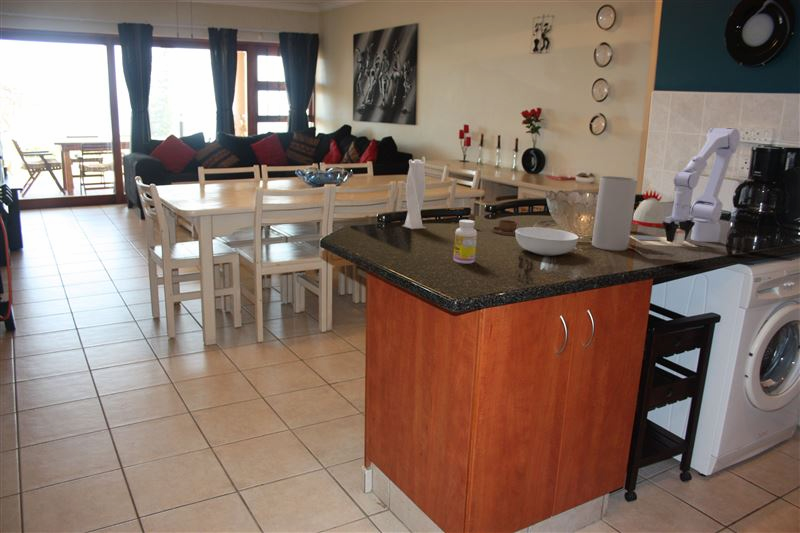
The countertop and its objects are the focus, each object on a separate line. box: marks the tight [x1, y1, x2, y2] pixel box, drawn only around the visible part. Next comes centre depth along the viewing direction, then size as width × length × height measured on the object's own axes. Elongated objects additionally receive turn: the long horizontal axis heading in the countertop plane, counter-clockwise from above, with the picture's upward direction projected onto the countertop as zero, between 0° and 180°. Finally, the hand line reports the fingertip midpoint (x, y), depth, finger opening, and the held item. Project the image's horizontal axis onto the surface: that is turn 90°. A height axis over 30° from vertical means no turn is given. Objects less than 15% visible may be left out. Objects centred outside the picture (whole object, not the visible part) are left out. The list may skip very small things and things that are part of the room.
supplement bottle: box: [452, 219, 478, 264], centre depth 197 cm, size 7×7×13 cm
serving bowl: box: [514, 226, 579, 257], centre depth 217 cm, size 21×21×7 cm
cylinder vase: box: [591, 175, 638, 252], centre depth 228 cm, size 12×12×25 cm
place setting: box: [468, 213, 519, 236], centre depth 251 cm, size 18×20×6 cm
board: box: [629, 235, 698, 248], centre depth 241 cm, size 20×16×2 cm
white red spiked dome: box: [632, 190, 666, 228], centre depth 284 cm, size 14×14×15 cm
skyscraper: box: [401, 156, 427, 230], centre depth 245 cm, size 8×8×28 cm
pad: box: [630, 234, 660, 241], centre depth 243 cm, size 8×8×1 cm
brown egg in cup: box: [668, 228, 685, 245], centre depth 237 cm, size 5×5×5 cm
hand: (676, 240), depth 238 cm, fingers open, 7 cm apart
